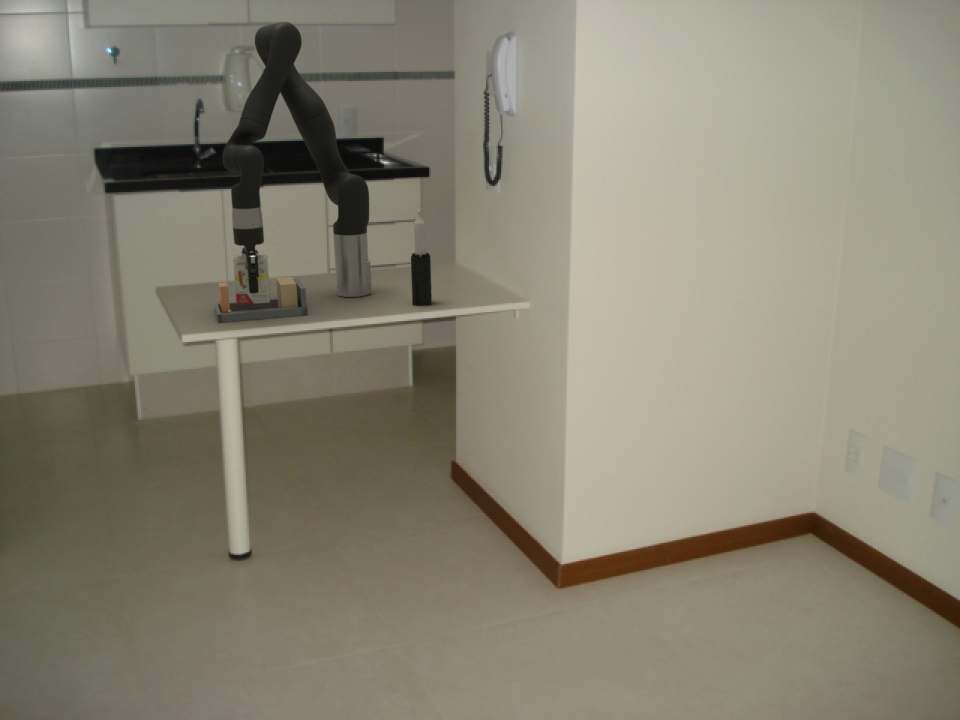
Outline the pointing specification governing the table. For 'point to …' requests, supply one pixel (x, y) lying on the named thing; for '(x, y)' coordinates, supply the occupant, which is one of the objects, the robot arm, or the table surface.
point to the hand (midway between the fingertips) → (252, 290)
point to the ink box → (243, 282)
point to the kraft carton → (286, 293)
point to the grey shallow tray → (264, 313)
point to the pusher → (224, 298)
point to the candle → (420, 266)
